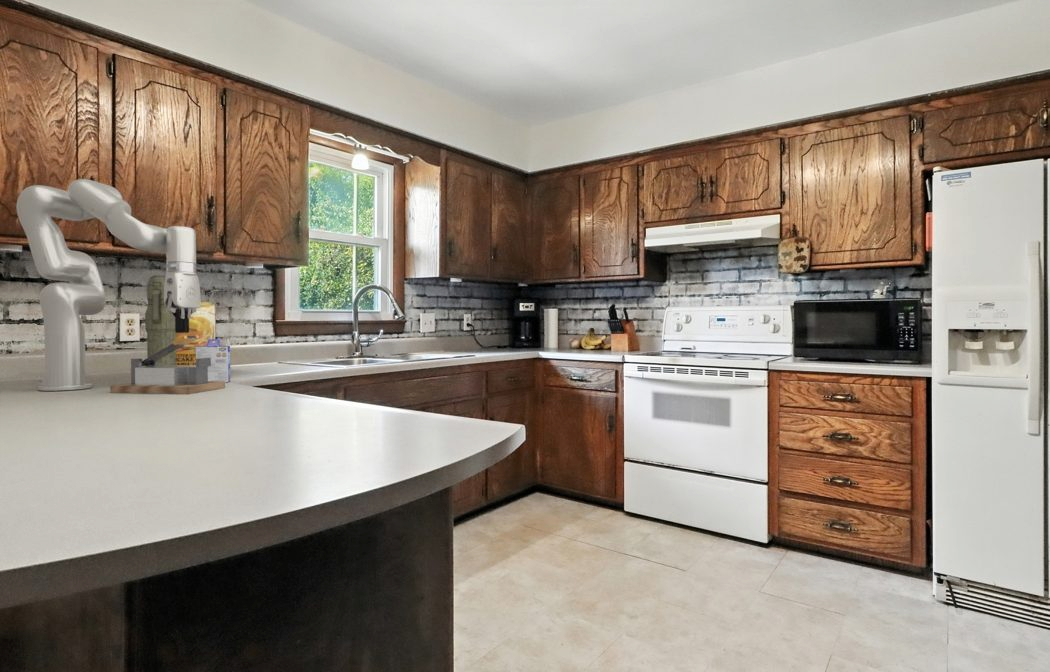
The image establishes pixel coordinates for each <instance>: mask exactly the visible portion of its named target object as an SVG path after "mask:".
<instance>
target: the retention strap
mask: <svg viewBox="0 0 1050 672" xmlns="http://www.w3.org/2000/svg"><path fill="white" fill-rule="evenodd" d="M198 338H199V336H198V335H188V336H182V337H180V338H179V339H177V340H175V341H174V342H173V344H171V345H169V346H168V347H166V348H164V349H162V350H161V351H159V352H157V353H155V354H154V355H152V356H150V357H148V358H145V359H142V367H146V366H149V365H152V363H154V362H156V361H158V360H159V359H161V358H163V357H165V356H166V355H168V354H170V353H171V352H173V351H175V350H177V349H178V348H180V347H182V346H184V345H185V344H190V343H191V342H193V341H195V340H197V339H198Z"/></svg>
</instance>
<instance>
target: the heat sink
mask: <svg viewBox="0 0 1050 672" xmlns="http://www.w3.org/2000/svg"><path fill="white" fill-rule="evenodd" d="M188 367H196V365H159V366H148V367H146V366H143V367H137V368H135V385H150V386H177V385H184V384H189V374H188Z"/></svg>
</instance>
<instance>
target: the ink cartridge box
mask: <svg viewBox="0 0 1050 672" xmlns="http://www.w3.org/2000/svg"><path fill="white" fill-rule="evenodd" d="M210 341H215V343H209V342H210ZM220 342H221V339H220V338H215V339H208V342H207V346H197V347H196V359H198V358H211V366H208V381H225V383H229V382H231V377H232V376H231V345H221V344H220Z"/></svg>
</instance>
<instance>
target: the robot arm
mask: <svg viewBox="0 0 1050 672" xmlns="http://www.w3.org/2000/svg"><path fill="white" fill-rule="evenodd" d="M123 199H124V198H123V196H122V194H121V192H120V190H118V189H116V188H115V187H113V186H112V185H108V184H105V183H101V182H98V181H95V180H91V179H87V178H79V179H76V180H73V181H72V182H71V183H70V184H69V185H68V187H67V190H64V189H61V188H56V187H53V186H48V185H41V184H39V185H38V184H35V185H30V186H27V187H26V188H24V189H23V190H22V191H21V192H20V194H19V196H18V197H17V201H16V214H17V217H18V220H19V222H20V224H21V227H22V228H23V232H24V233H25V236H26V238H27V241H28V245H29V249H30V253H31V255H32V258H33V262H34V265H35V268H36V271H37V273H38V274H39V275H40V276H41V277H42V278H44V279H47V280H54V281H60V282H53V283H48V284H47V285H45V286H44V287H43V288H42V289H41V290H40V293H39V297H38V298H39V306H40V309H41V313H42V319H43V327H44V328H43V329H44V331H43V332H44V336H43V337H44V373H41V375H40V376H37V377H36V378H35V381H36V382H37V383H41V385H39V386H38V389H37V390H38V391H44V392H45V391H46V392H48V391H49V392H50V391H52V392H53V391H55V392H57V391H75V390H77V391H78V390H86V389H91V388H92V387H93V384H92V383H91V382H89V383H88V382H87V381H86V377H87V376H86V329H85V324H84V322H83V320H82V319H81V316H93V315H94V316H95V315H98V314H100V313H101V312H103V311H104V309H105V307H106V305H107V296H106V291H105V289H104V288H105V287H104V285H103V281H102V278H101V275H100V272H99V269H98V267H97V264H96V262H95V261H94V259H93V258H92V257H91V256H90V255H88V254H87V253H85V252H81V251H77V250H71V249H70V248H68V246H67V243H66V240H65V237H64V234H63V232H62V230H61V228H60V227H59V226H58V224H57V223H56V222H55V221H54V220H53V219H52V217H54V218H57V219H61V220H62V219H63V220H68V221H74V222H82V221H86V220H92V219H95V218H96V219H98V220H99V221H100V222H102V223H104V224H105V226H106V228H107V229H108V231H109V232H110V233H111V235H112V236H114V237H116V238H117V239H118V240H120V241H121V242H123V243H125V244H126V245H127V246H128V247H131V248H134V249H136V250H139V251H144V252H146V251H147V252H152V253H157V254H165V255H166V261H165V263H166V269H165V270H166V273H165V276H166V277H165V284H164V304H165V306H166V307H167V311H168V312H170V313H172V314H173V317H174V319H175V332H176V333H189V319H190V318H191V314H192V313H195V312H196V308H200V306H201V301H202V299H201V298H202V297H201V285H200V280H199V276H198V275H197V234H196V231H195V229H194V228H192V227H190V226H182V225H173V226H172V225H171V226H168V227H167V228H165V227H160V226H158V225H153V224H148V223H144V222H142V221H140V220H139V219H137V218H135V217H134V216H132V207H131V205H130V204H129V203H128V202H127V201H125V200H123ZM61 281H62V282H61ZM63 281H64V282H63ZM179 310H180V311H179Z"/></svg>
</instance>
